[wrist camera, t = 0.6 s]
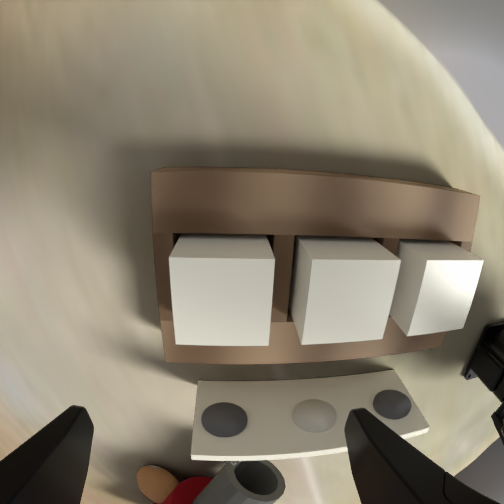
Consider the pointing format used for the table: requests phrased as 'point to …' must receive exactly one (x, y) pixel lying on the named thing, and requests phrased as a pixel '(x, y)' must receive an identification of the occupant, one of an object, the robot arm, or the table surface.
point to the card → (295, 415)
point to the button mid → (341, 288)
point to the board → (282, 241)
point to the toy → (215, 485)
